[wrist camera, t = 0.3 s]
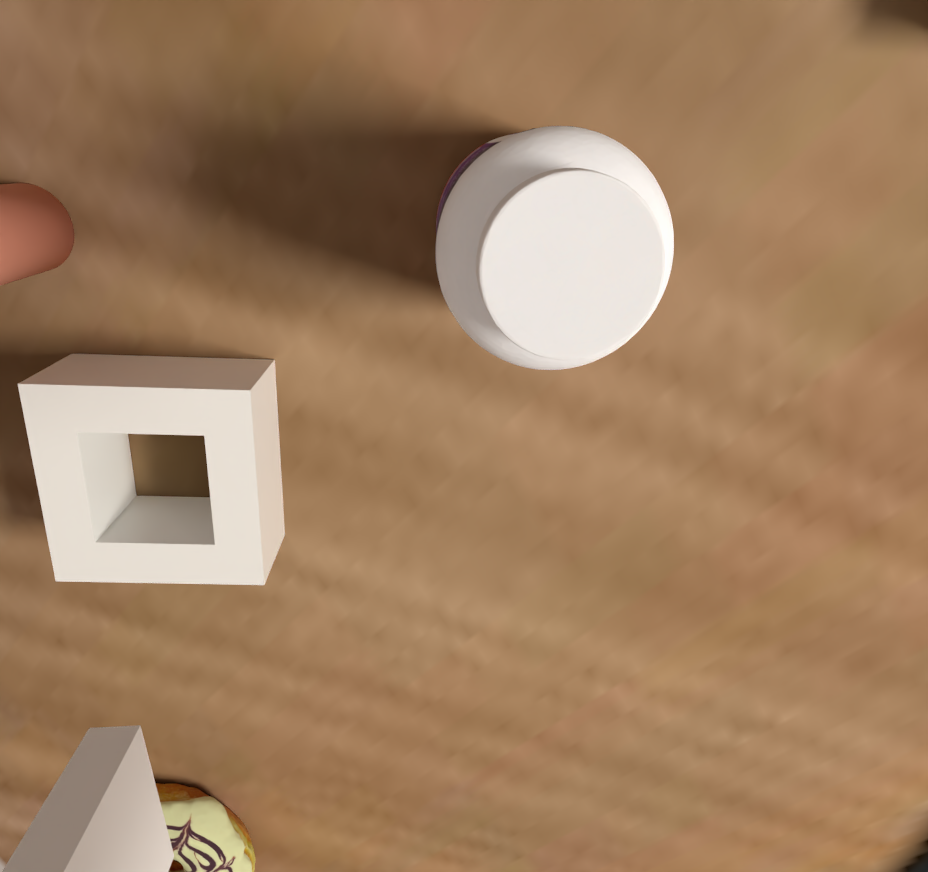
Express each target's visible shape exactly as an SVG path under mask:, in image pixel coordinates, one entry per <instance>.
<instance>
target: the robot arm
mask: <svg viewBox="0 0 928 872" xmlns="http://www.w3.org/2000/svg"><path fill="white" fill-rule="evenodd" d="M173 858H174V853H173V849H172V845H171V841H170V838H169V834H168V830H167V826H166V822H165V818H164V814H163V811H162V807H161V803H160V799H159V795H158V791H157V788H156V784H155V780H154V776H153V772H152V768H151V764H150V761H149V757H148V753H147V749H146V745H145V741H144V737H143V734H142V730H141V726H121V727H101V728H89V730H88V731H87V733H86V735H85V736H84V738H83V740H82V741H81V743H80V745H79V746H78V748H77V749H76V751H75V753H74V754H73V756H72V758H71V759H70V761H69V763H68V764H67V766H66V768H65V769H64V771H63V773H62V774H61V776H60V777H59V779H58V781H57V782H56V784H55V786H54V787H53V789H52V791H51V792H50V794H49V796H48V797H47V799H46V800H45V802H44V804H43V805H42V807H41V809H40V810H39V812H38V814H37V815H36V817H35V819H34V820H33V822H32V824H31V825H30V827H29V828H28V830H27V832H26V833H25V835H24V837H23V838H22V840H21V842H20V843H19V845H18V847H17V848H16V850H15V852H14V853H13V855H12V856H11V858H10V860H9V861H8V863H7V865H6V866H5V868H4V870H3V872H168V871H169V869H170V866H171V864H172V861H173Z"/></svg>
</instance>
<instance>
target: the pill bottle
mask: <svg viewBox="0 0 928 872" xmlns="http://www.w3.org/2000/svg"><path fill="white" fill-rule="evenodd" d="M673 252H674V233H673V225H672V219H671V215H670V211H669V208H668V205H667V202H666V199H665V197H664V195H663V193H662V190H661V188H660V186H659V185H658V183H657V181H656V179H655V177H654V176H653V175H652V173H651V172H650V170H649V169H648V168H647V167H646V166H645V164H644V163H643V162H642V161H641V160H640V159H639V158H638V157H637V156H636V155H635V154H634V153H633V152H631V151H630V150H629V149H627V148H626V147H625V146H623V145H622V144H620V143H619V142H617V141H615V140H613V139H612V138H610V137H608V136H605V135H603V134H601V133H598V132H595V131H591V130H588V129H584V128H578V127H573V126H548V127H541V128H534V129H530V130H527V131H523V132H520V133H515V134H509V135H506V136H503V137H499V138H496V139H494V140H491V141H489V142H487V143H485V144H483V145H482V146H480V147H478V148H477V149H476V150H474V151H473V152H472V153H470V154H469V155H468V156H467V157H466V158H465V159H464V160H463V161H462V162H461V163H460V164H459V165H458V167H457V168H456V169H455V171H454V172H453V173H452V175H451V177H450V178H449V180H448V182H447V184H446V186H445V188H444V190H443V193H442V196H441V199H440V202H439V205H438V210H437V217H436V268H437V274H438V279H439V284H440V287H441V291H442V294H443V296H444V299H445V301H446V303H447V305H448V307H449V309H450V311H451V312H452V314H453V316H454V317H455V319H456V320H457V322H458V323H459V325H460V326H461V327H462V328H463V330H464V331H465V332H466V333H467V334H468V336H470V337H471V338H472V339H473V340H474V341H475V342H476V343H477V344H478V345H480V346H481V347H482V348H484V349H485V350H486V351H488V352H490V353H491V354H493V355H495V356H497V357H499V358H501V359H503V360H505V361H507V362H510V363H512V364H515V365H518V366H522V367H526V368H532V369H540V370H559V369H568V368H573V367H578V366H582V365H585V364H588V363H591V362H593V361H596V360H598V359H600V358H602V357H604V356H606V355H608V354H610V353H612V352H613V351H615V350H617V349H618V348H619V347H621V346H622V345H623V344H625V343H626V342H627V341H628V340H630V339H631V338H632V337H633V336H634V335H635V334H636V333H637V332H638V331H639V330H640V329H641V328H642V327H643V325H644V324H645V323H646V322H647V321H648V319H649V318H650V316H651V315H652V313H653V312H654V310H655V309H656V307H657V305H658V303H659V301H660V300H661V297H662V295H663V293H664V291H665V288H666V286H667V283H668V279H669V276H670V272H671V267H672V261H673Z"/></svg>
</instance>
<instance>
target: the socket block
mask: <svg viewBox="0 0 928 872" xmlns="http://www.w3.org/2000/svg"><path fill="white" fill-rule="evenodd" d="M18 389H19V394H20V399H21V404H22V409H23V415H24V420H25V425H26V430H27V435H28V440H29V446H30V451H31V456H32V461H33V466H34V471H35V476H36V482H37V487H38V492H39V497H40V502H41V507H42V513H43V518H44V523H45V528H46V533H47V538H48V544H49V549H50V554H51V559H52V564H53V569H54V575H55V580H56V581H69V582H124V583H180V584H235V585H265V582H266V580H267V577H268V575H269V572H270V570H271V567H272V565H273V563H274V560H275V558H276V555H277V553H278V550H279V548H280V545H281V543H282V540H283V538H284V536H285V528H284V511H283V494H282V477H281V460H280V442H279V425H278V408H277V391H276V374H275V360H270V359H236V358H203V357H169V356H136V355H102V354H70V355H68V356H67V357H65V358H63V359H61V360H60V361H58V362H56V363H54V364H52V365H51V366H49V367H47V368H45V369H43V370H42V371H40V372H38V373H36V374H34V375H33V376H31V377H29V378H27V379H25V380H24V381H22V382H20V383H18ZM128 434H159V435H198V436H204V439H205V449H206V459H207V469H208V480H209V490H210V497H174V496H137V495H136V488H135V481H134V474H133V467H132V460H131V452H130V445H129V438H128Z"/></svg>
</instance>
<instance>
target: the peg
mask: <svg viewBox="0 0 928 872" xmlns="http://www.w3.org/2000/svg"><path fill="white" fill-rule="evenodd" d="M73 243H74V229H73V225H72V221H71V219H70V216H69V214H68V212H67V211H66V209H65V208H64V206H63V205H62V204H61V202H60V201H59V200H58V199H57V198H56V197H55V196H53V195H52V194H51V193H49V192H48V191H46V190H45V189H43V188H41V187H38V186H35V185H32V184H27V183H12V184H0V285H3V284H6V283H10V282H13V281H16V280H19V279H22V278H26V277H29V276H32V275H35V274H38V273H42V272H45V271H48V270H51V269H54V268H56V267H58V266H59V265H61V264H62V263H63V262H64V261H65V260H66V259H67V258H68V256H69V255H70V253H71V250H72V247H73Z"/></svg>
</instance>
